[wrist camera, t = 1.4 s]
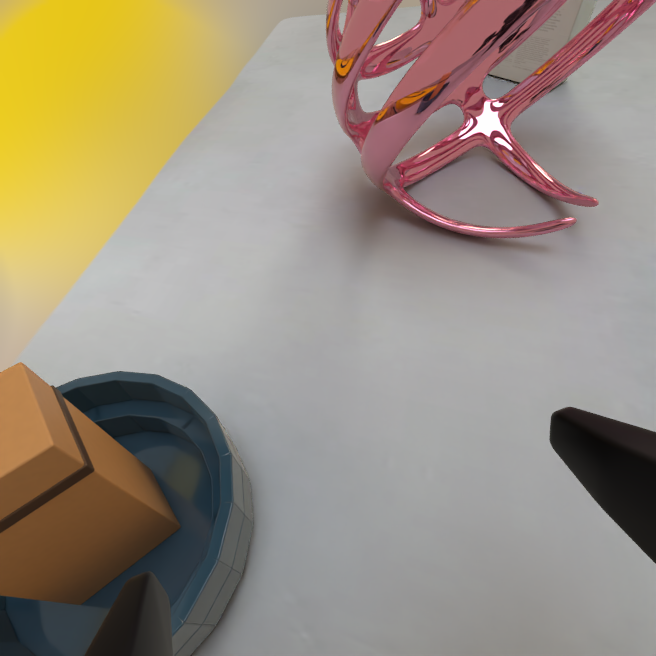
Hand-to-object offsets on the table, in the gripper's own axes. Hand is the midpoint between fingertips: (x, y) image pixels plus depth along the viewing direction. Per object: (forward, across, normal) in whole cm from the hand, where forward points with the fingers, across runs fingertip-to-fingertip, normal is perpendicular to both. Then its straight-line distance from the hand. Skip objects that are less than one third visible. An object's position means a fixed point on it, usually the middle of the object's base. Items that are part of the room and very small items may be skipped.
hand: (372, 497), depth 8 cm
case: (+12, +11, +10) cm, 19 cm away
